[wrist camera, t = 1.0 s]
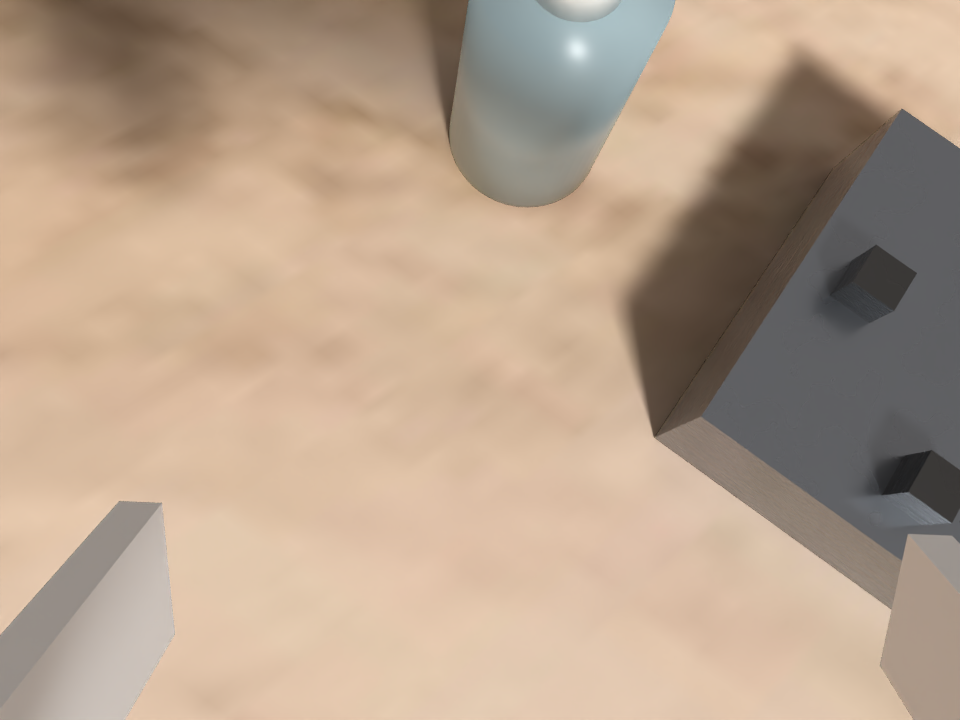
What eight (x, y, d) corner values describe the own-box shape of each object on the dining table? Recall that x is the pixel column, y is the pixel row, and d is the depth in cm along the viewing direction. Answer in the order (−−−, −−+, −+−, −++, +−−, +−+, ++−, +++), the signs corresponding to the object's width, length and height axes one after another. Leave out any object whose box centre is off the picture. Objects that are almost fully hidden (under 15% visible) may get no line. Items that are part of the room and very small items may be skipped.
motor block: (654, 437, 33) (718, 408, 27) (832, 168, 36) (927, 86, 30) (963, 661, 32) (1104, 686, 26) (1115, 366, 36) (1273, 324, 29)
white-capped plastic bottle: (418, 148, 34) (437, -62, 23) (505, 43, 36) (563, -204, 24) (541, 236, 34) (622, 69, 23) (624, 127, 36) (739, -82, 24)
